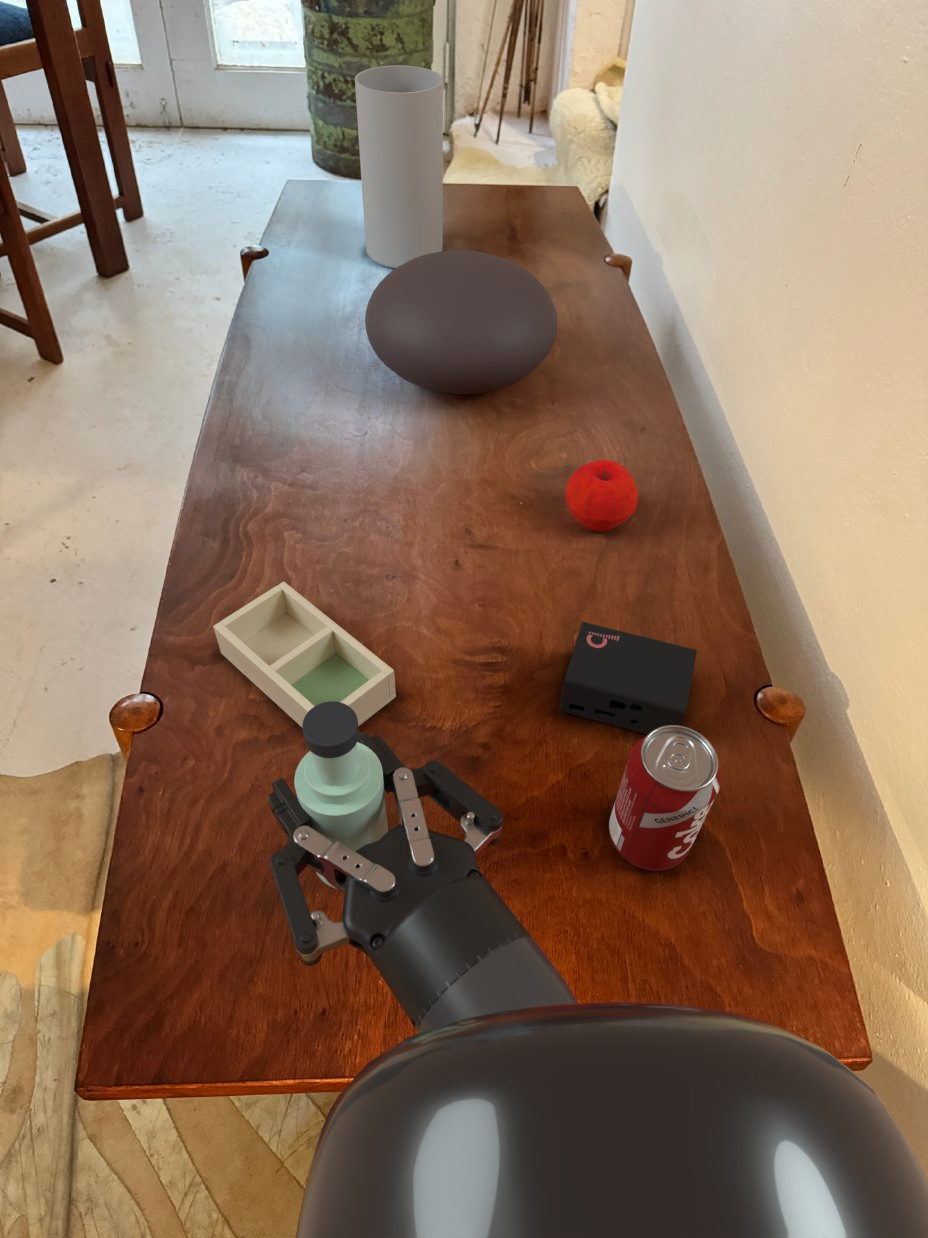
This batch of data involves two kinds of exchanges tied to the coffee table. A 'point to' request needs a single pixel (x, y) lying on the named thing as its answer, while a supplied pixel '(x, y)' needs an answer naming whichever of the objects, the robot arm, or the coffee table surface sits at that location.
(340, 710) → the bottle
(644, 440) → the coffee table surface
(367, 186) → the cylinder vase
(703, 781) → the soda can
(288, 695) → the cream rectangular tray
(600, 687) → the electronic device
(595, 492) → the apple
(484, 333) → the flattened ellipsoid
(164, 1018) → the coffee table surface
